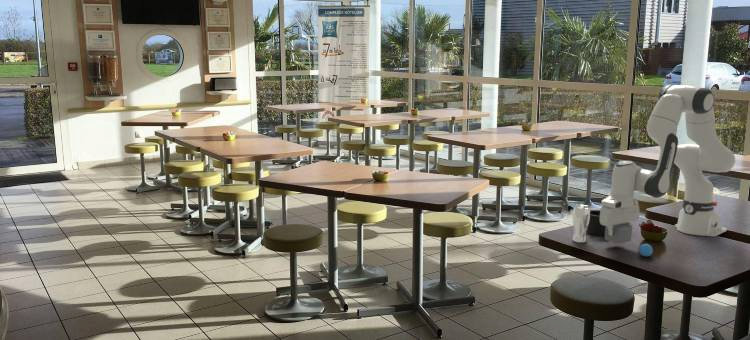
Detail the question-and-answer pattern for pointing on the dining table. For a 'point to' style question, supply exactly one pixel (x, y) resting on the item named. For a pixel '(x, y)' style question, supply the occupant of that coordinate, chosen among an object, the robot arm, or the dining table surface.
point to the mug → (595, 224)
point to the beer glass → (580, 223)
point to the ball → (645, 250)
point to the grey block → (619, 233)
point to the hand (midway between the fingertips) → (618, 233)
